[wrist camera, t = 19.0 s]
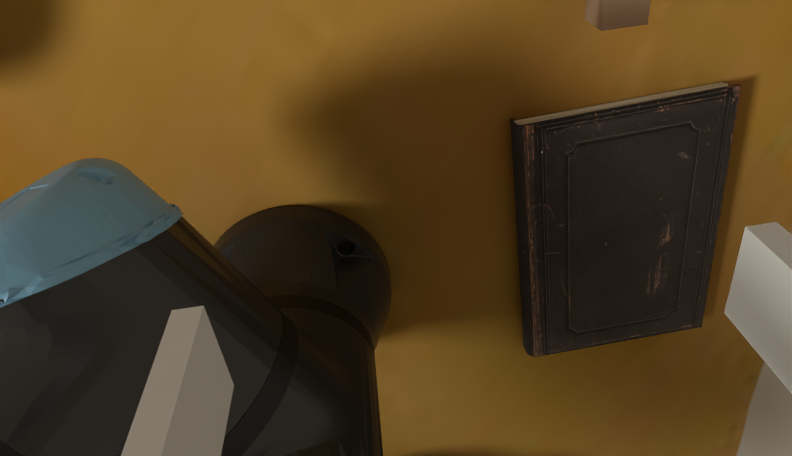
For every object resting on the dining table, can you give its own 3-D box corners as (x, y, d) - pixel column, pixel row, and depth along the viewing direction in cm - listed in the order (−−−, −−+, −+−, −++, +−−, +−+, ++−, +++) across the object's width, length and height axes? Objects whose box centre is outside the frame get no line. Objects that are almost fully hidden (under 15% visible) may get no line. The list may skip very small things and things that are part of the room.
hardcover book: (723, 75, 44) (741, 85, 42) (689, 310, 56) (701, 327, 54) (507, 115, 44) (515, 127, 42) (521, 341, 56) (528, 358, 54)
